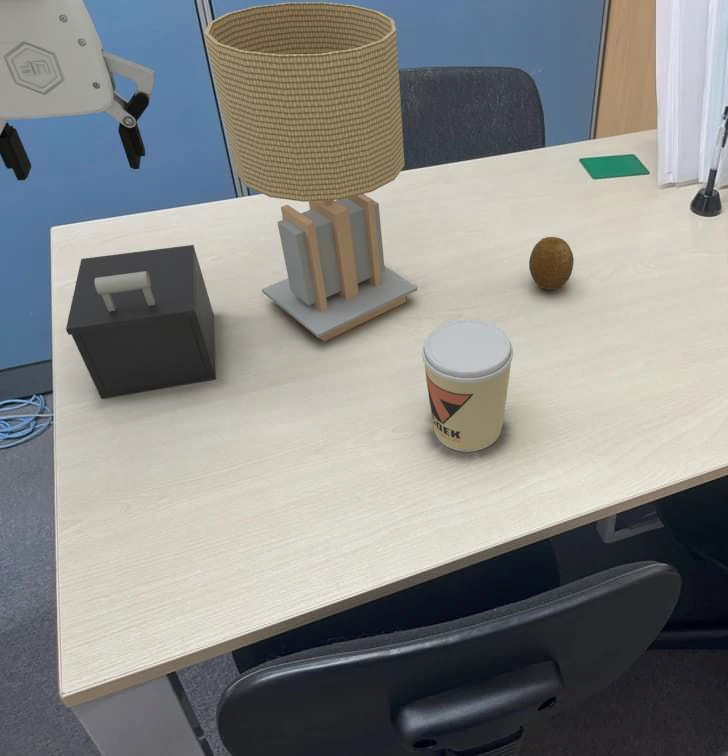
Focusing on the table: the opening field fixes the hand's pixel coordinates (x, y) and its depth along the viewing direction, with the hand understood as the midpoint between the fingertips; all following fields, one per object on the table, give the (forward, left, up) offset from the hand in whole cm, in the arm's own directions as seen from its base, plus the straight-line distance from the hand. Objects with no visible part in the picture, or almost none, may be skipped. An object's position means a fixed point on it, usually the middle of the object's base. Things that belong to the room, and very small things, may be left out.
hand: (81, 168), depth 68 cm
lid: (0, +4, -16) cm, 17 cm away
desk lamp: (+23, +9, -26) cm, 36 cm away
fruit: (+52, +5, -26) cm, 59 cm away
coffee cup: (+33, -19, -26) cm, 46 cm away
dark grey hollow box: (0, +4, -26) cm, 27 cm away
